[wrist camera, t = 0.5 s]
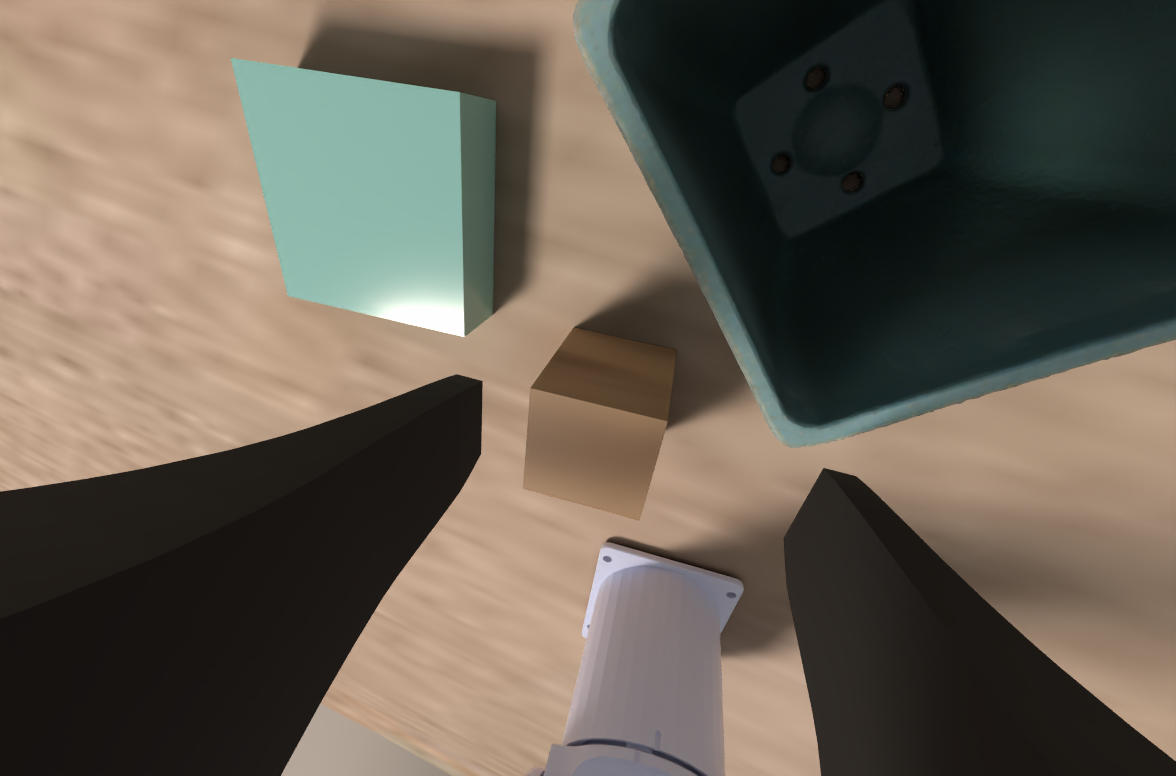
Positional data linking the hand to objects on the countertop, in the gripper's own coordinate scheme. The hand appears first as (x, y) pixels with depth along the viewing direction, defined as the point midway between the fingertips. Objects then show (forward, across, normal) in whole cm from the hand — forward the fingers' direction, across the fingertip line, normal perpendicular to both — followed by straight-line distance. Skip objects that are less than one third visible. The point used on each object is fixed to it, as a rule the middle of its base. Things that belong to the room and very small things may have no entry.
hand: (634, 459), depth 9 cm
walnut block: (+10, +1, +4) cm, 10 cm away
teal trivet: (+10, +12, -2) cm, 15 cm away
